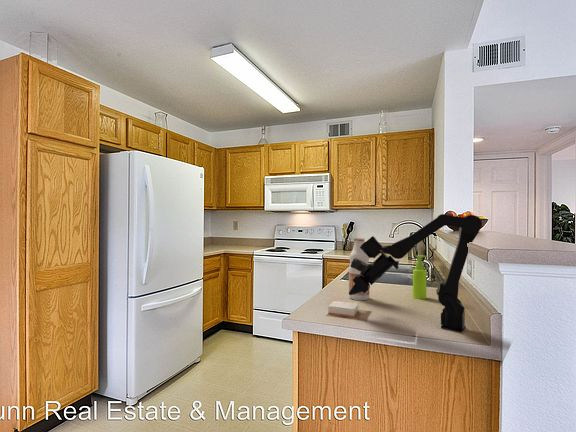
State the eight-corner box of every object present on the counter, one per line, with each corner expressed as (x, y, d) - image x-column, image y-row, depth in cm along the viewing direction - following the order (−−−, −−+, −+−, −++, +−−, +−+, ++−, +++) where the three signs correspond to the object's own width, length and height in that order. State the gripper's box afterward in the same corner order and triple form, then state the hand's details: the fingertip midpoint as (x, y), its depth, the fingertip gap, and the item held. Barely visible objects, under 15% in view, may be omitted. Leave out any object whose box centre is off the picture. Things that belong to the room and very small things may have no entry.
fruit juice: (344, 297, 149) (344, 238, 149) (358, 294, 154) (358, 237, 154) (359, 301, 141) (359, 239, 141) (373, 299, 146) (373, 238, 146)
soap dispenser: (430, 299, 146) (430, 256, 146) (415, 299, 146) (415, 256, 146) (425, 296, 152) (425, 254, 152) (411, 296, 152) (411, 254, 152)
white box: (358, 303, 125) (333, 301, 129) (354, 309, 117) (328, 306, 121) (358, 311, 125) (333, 308, 129) (354, 317, 117) (328, 313, 121)
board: (371, 312, 125) (371, 311, 125) (365, 322, 113) (365, 321, 113) (334, 308, 131) (334, 306, 131) (325, 317, 119) (325, 315, 119)
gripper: (367, 249, 129) (341, 274, 133) (358, 254, 112) (328, 282, 116) (387, 270, 125) (359, 294, 130) (381, 278, 108) (349, 306, 113)
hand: (349, 294), depth 122 cm, fingers closed
